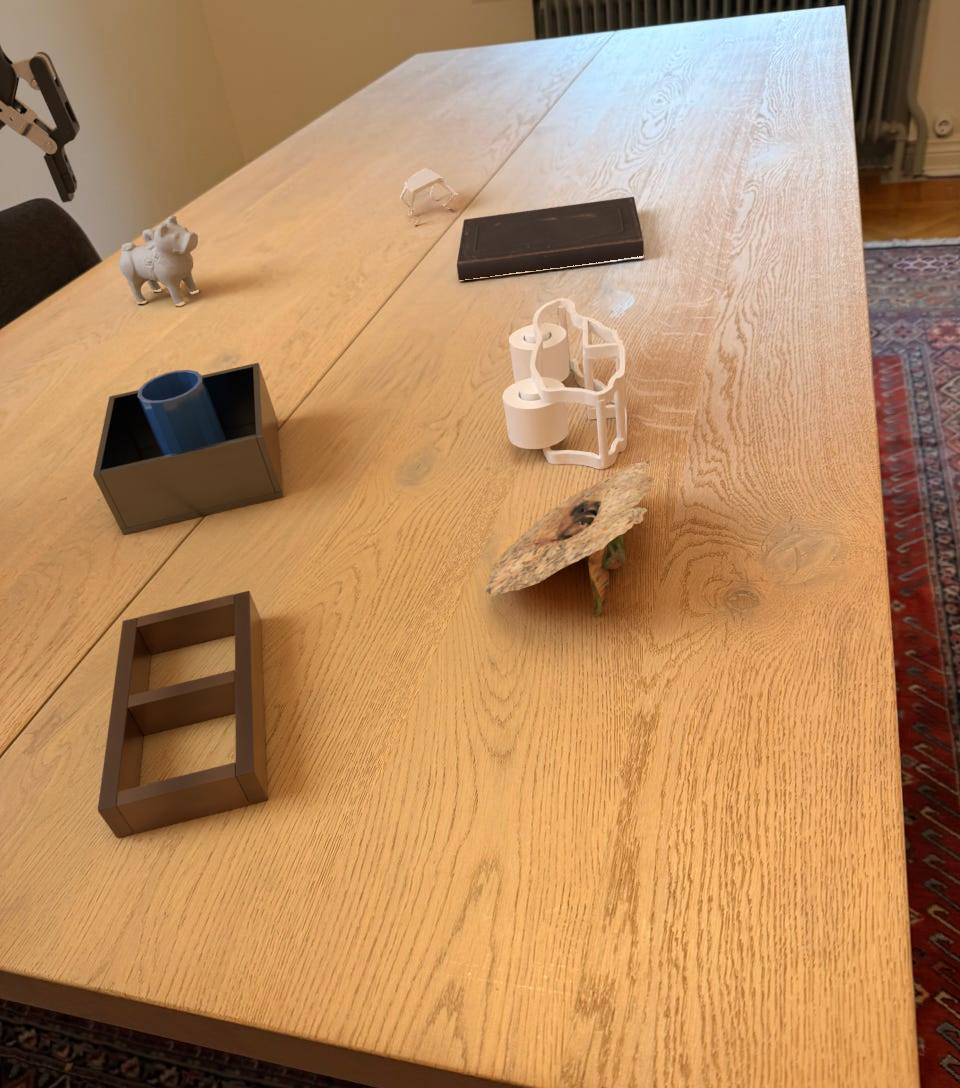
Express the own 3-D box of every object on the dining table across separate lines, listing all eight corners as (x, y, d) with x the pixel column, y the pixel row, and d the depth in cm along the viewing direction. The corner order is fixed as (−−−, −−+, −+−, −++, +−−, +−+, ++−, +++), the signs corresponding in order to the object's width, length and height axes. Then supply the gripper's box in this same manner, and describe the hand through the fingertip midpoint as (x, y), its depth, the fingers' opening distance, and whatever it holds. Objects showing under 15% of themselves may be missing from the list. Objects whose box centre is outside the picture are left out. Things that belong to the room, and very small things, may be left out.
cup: (172, 491, 90) (135, 408, 84) (174, 460, 94) (140, 378, 88) (233, 477, 90) (201, 393, 84) (233, 446, 95) (202, 364, 89)
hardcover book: (466, 236, 130) (463, 219, 128) (634, 214, 126) (633, 196, 125) (459, 283, 118) (456, 265, 116) (644, 260, 115) (643, 241, 113)
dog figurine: (205, 308, 124) (176, 226, 117) (128, 306, 129) (95, 227, 122) (226, 290, 128) (199, 210, 121) (150, 289, 132) (120, 211, 125)
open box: (122, 535, 87) (92, 475, 82) (135, 453, 98) (109, 396, 94) (283, 497, 88) (262, 435, 83) (277, 419, 99) (258, 362, 94)
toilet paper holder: (517, 370, 99) (509, 303, 94) (623, 360, 97) (620, 291, 92) (507, 477, 84) (496, 405, 80) (631, 467, 83) (628, 392, 78)
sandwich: (515, 592, 83) (482, 512, 80) (673, 535, 79) (644, 450, 77) (502, 676, 66) (460, 579, 63) (702, 608, 63) (666, 503, 60)
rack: (116, 838, 61) (96, 810, 59) (137, 648, 74) (122, 620, 72) (268, 800, 61) (254, 771, 59) (261, 618, 75) (249, 589, 73)
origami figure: (463, 218, 135) (458, 182, 132) (406, 230, 135) (399, 194, 132) (454, 192, 144) (449, 158, 140) (401, 203, 144) (394, 169, 140)
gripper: (23, -44, 72) (107, 181, 83) (-164, -10, 71) (-55, 212, 82) (3, -33, 66) (96, 206, 77) (-200, 5, 66) (-78, 240, 76)
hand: (18, 209), depth 79 cm, fingers open, 8 cm apart
